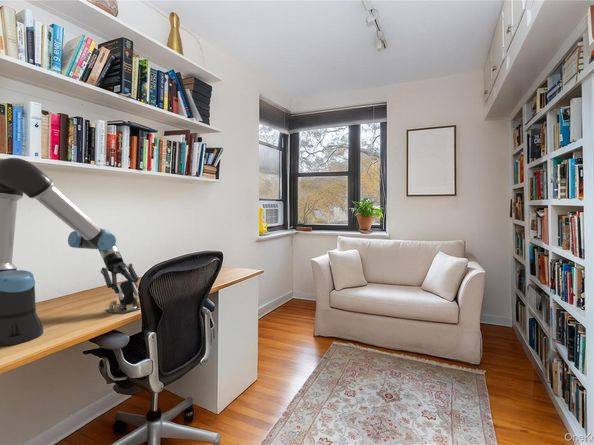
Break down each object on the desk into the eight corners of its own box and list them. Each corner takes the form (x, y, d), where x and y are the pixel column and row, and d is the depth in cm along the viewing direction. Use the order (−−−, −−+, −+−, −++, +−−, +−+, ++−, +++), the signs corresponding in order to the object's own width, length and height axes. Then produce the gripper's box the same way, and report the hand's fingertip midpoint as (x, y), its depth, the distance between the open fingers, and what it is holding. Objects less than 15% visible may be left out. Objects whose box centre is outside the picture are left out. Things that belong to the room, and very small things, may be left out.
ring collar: (99, 313, 142) (99, 306, 142) (122, 302, 157) (122, 296, 156) (131, 314, 140) (131, 306, 140) (151, 303, 155) (151, 297, 155)
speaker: (138, 302, 148) (134, 279, 147) (124, 306, 143) (121, 283, 143) (131, 300, 153) (127, 279, 152) (118, 304, 148) (114, 282, 148)
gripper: (129, 259, 164) (147, 296, 155) (87, 265, 149) (105, 306, 140) (134, 249, 160) (153, 287, 151) (92, 254, 146) (110, 296, 137)
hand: (130, 296), depth 146 cm, fingers closed on speaker, 6 cm apart
